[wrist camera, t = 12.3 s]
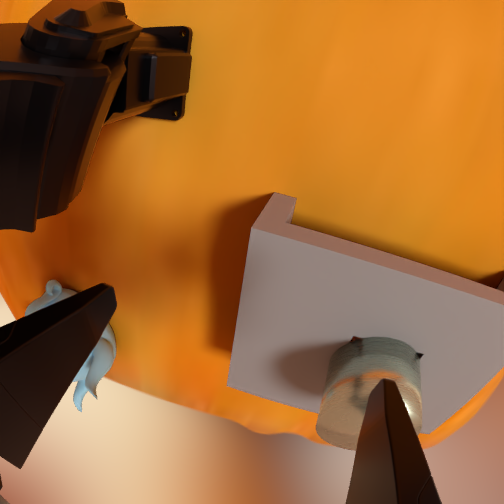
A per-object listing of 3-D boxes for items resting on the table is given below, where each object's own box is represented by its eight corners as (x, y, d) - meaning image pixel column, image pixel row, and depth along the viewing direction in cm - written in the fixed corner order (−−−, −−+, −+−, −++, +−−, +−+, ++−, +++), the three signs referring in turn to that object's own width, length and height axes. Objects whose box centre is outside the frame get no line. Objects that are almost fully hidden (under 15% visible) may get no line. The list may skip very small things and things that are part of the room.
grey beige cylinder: (324, 343, 25) (303, 439, 18) (351, 285, 21) (337, 395, 14) (394, 361, 24) (389, 456, 17) (430, 308, 20) (443, 415, 13)
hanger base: (244, 345, 30) (226, 385, 26) (274, 192, 20) (251, 227, 16) (428, 392, 26) (428, 433, 22) (520, 274, 17) (543, 318, 13)
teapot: (59, 255, 32) (1, 307, 24) (148, 341, 35) (102, 406, 27) (45, 302, 41) (4, 344, 33) (113, 367, 44) (78, 415, 35)
